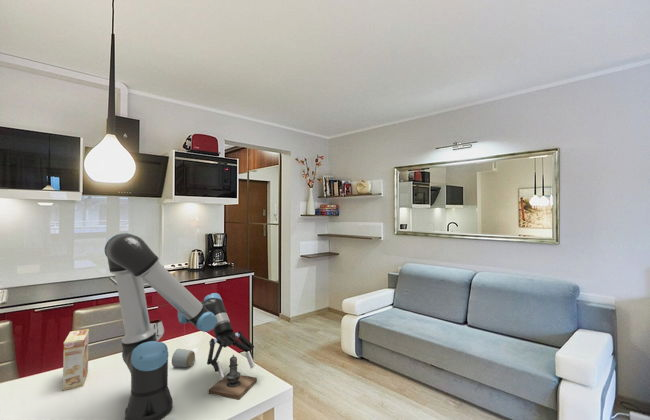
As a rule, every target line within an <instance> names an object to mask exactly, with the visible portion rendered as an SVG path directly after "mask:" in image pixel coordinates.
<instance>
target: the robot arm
mask: <svg viewBox="0 0 650 420" xmlns="http://www.w3.org/2000/svg"><path fill="white" fill-rule="evenodd" d="M104 254H105V256H106V258H107V264H108V268H109V273H111V274H112V275H114V276H115V281H116V286H117V287H116V288H117V294H118V299H119V306H120V310H121V316H122V317H121V318H122V324H123V328H124V329H123V330H124V336H122V338H121V346H122V352H121V353H122V354H121V357H122V360H123V362H124V364H125V365H126V367H127V370H129V373H130V377H131V378H130V397H129V399H128V403H127V406H126V408H125V410H124V411H125V412H124V420H162V419H163V418H165V417H166V416H167V415H169V413H171V411H172V409H173V402H174V401H173V396H172V395H171V391H170V389H169V386H168V385H169V383H168V377H169V374H168V373H169V350H168V346H167V344H166V343H164V342H163V341H159V340H158V341H157V338H156V332H155V329H153V328H151V327H150V317H149V316H150V315H149V312H148V304H147V298H146V293H145V287H144V282H146V283H147V284H148V285H149V286H150V287H151V288H152V289H153V290H154V291H156V292H157V293H158V294H159V295H160V296H161V297H162V298H163V299H164V300H165V301H167V302H168V304H170V305H171V306H172V307H173V308H174V309H176V310H177V319H178V322H179V323H180V324H181V325H183V324H188V323H189V324H191V325H192V326H193V327H195V328H196V329H198V330H199V331H201V332H203V333H207V332H211V331H212V330H213V333H214V335H215V338H213V337H212V338H210V340H209V342H208V343H209V351H208V357H207V362H206V364H207V365H209V366H210V365H211V366H212V367H213V369H214V372H215V373H217V375H218V377H219V381H220V380H222V379H223V378H224V376H225V375H224V372H223V369H222V367H221V366H222V365H221V363H220V361H219V360H218V359H219V357H220V354H221V351H222V349H223V348H226V347H231V346H233V347H237V348H238V349H240V350H241V351H243V352H245V357H246V359H247V362H248V365H249V367H250V368H249V369H250V370H251V369H254V367H255V362H254V360H253V359H254V354H253V351H252V350H253V349H254V348H255V346H254V345H253V344H252V342H251V341H250V340H249V339H247V338H246V336H245V335H243V333H242V331H241V330H239V331H237V332H234V330H233V326H232V323H231V321H230V318H229V316H228V313H227V310H226V307H225V305H224V301H223V299H222V297H221V295H220V293H217V292H213V293H212V292H211V293H210V294H207V295H206V296H205V297H204V298H203V301H200V300H198V298H197V297H195V296H194V295H193V293H191V291H189V290H188V289H187V288H186V287H185V286H184V285H183V284H182V283H181V282H180V281H179V280H178V279H177V278H176V277H175V276H174V275H173V274H172V273H171V272H169V270H167V269H166V267H165V266H163V264H162V263H160V261H159V260H160V257H158V256H157V254H155V252H154V251H153V250H152V249H151V248H150V246H148V244H147V243H146V242H145V240H144V239H142V237H139V236H137V235H135V234H132V233H127V232H125V233H118V234H115V235H113V236H112V237H110V238H109V239H108V240H107V242H106V244H105V246H104ZM216 344H218V345H219V346H218V348H217V350H216V352H215V345H216ZM214 352H215V355H214ZM213 356H214V357H213Z"/></svg>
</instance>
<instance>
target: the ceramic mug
mask: <svg viewBox="0 0 650 420" xmlns="http://www.w3.org/2000/svg"><path fill="white" fill-rule="evenodd" d="M195 360H196V353H195V352H194V350H192V349H191V350H190V349H184V348H176V350H175V351H174V352H173V354H172V357H171V365H172V366H173V367H176V368H177V367H178V368H179V367H180V368H181V367H182V368H190V367H191V366H192V365H193V364H194V362H195Z"/></svg>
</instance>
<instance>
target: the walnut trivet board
mask: <svg viewBox="0 0 650 420" xmlns="http://www.w3.org/2000/svg"><path fill="white" fill-rule="evenodd" d="M238 381H240V384H239V385H238V386H235V387H228V386H227V383H228V382H229V381H228V380H227V377H226V375H224V378H223V379H222V380H220V379H219V380H218V381H217V382H216V383H215V384H214V385H212V386H211V387H210V388H209V389H208V392H207V393H208V395H214V396H218V397H219V396H220V397H223V398H229V399H234V400H240V399H241V398H242V397H243V396H244V395H245V394H246V393H247V392H248V391H249V390H250V389H251V388H252V387H253V386H254V385H255V384H256V383H257V382H258V377H256V376H255V377H254V376H248V375H243V374H241V375H240V378H239V380H238Z"/></svg>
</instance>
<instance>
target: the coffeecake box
mask: <svg viewBox="0 0 650 420" xmlns="http://www.w3.org/2000/svg"><path fill="white" fill-rule="evenodd" d="M89 330H90V329H89V328H84V329H78V330H73V331H69V333H68V335H67V336H66V337H65V340H64V341H63V352H62V353H63V355H62V356H63V358H62V359H63V365H62V367H63V368H62V392H63V391H67V390H72V389H73V390H74V389H77V388H82V387H85V386H84V385H85V382H86V379H87V377H88V372H89V340H90V339H89V336H90V335H89V333H90V331H89Z"/></svg>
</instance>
